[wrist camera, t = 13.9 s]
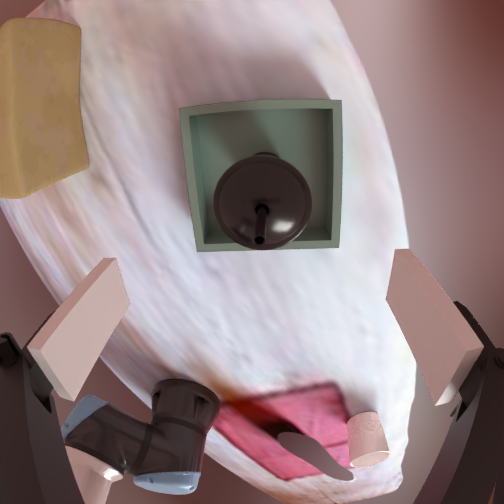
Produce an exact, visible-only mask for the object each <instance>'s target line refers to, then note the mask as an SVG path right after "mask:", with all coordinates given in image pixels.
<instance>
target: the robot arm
mask: <svg viewBox="0 0 504 504" xmlns="http://www.w3.org/2000/svg"><path fill="white" fill-rule="evenodd" d="M386 300H387V302H388V304H389V306H390V308H391V310H392V312H393V314H394V316H395V318H396V320H397V322H398V324H399V326H400V328H401V330H402V332H403V334H404V336H405V338H406V340H407V343H408V345H409V347H410V349H411V351H412V353H413V356H414V358H415V360H416V362H417V364H418V367H419V369H420V371H421V373H422V376H423V378H424V380H425V383H426V385H427V388H428V390H429V393H430V395H431V397H432V400H433V403H434V405H435V406H437V405H440V404H444V403H448V402H451V401H452V400H453V398H454V397H455V396H456V394H457V393H458V391H459V393H460V395H461V397H462V399H461V400H460V402H459V403H458V404H457V406H456V407H455V409H454V410H453V412H452V413H451V415H450V416H451V417H452V416H453V415H454V413H455V415H454V418H453V420H452V423H451V426H450V428H449V431H448V434H447V436H446V438H445V441H444V443H443V446H442V448H441V450H440V453H439V455H438V457H437V459H436V461H435V463H434V466H433V467H432V470H431V472H430V474H429V476H428V477H427V479H426V481H425V483H424V485H423V487H422V489H421V491H420V492H419V494H418V496H417V498H416V499H415V501H414V503H413V504H488V502H489V499H490V497H491V494H492V491H493V488H494V486H495V492H494V500H493V504H504V349H502V348H495V347H494V345H493V344H492V342H491V341H490V339H489V338H488V336H487V335H486V333H485V332H484V331H483V329H482V328H481V326H480V325H478V322H477V321H476V320H475V318H473V315H472V314H471V313H470V312H469V310H468V309H467V308H466V307H465V306H463V305H462V304H461V303H459V302H458V301H455V302H452V300H451V299H450V298H449V296H448V295H447V294H446V293H445V291H444V290H443V289H442V287H441V286H440V285H439V284H438V282H437V281H436V280H435V279H434V277H433V276H432V275H431V274H430V273H429V271H428V270H427V269H426V268H425V266H424V265H423V264H422V263H421V262H420V261H419V259H418V258H417V257H416V256H415V255H414V254H413V252H412V251H411V250H410V249H395V253H394V259H393V265H392V270H391V276H390V281H389V286H388V291H387V296H386ZM129 305H130V301H129V298H128V295H127V292H126V289H125V286H124V283H123V279H122V276H121V273H120V269H119V266H118V262H117V259H116V258H103V259H102V261H101V262H100V263H99V264H98V265H97V266H96V267H95V268H94V269H93V270H92V271H91V272H90V273H89V274H88V275H87V276H86V277H85V279H84V280H83V281H82V282H81V283H80V284H79V285H78V286H77V287H76V288H75V290H74V291H73V292H72V293H71V294H70V295H69V296H68V297H67V299H66V300H65V301H64V302H63V303H62V304H61V305H60V307H59V308H58V309H57V310H56V311H54V312H53V313H52V314H50V315H49V316H48V318H47V319H46V320H45V321H44V322H43V324H42V325H41V326H40V327H39V329H38V330H37V331H36V332H35V333H34V335H33V336H32V337H31V338H30V340H29V341H28V342H27V343H26V345H25V346H24V347H23V349H22V350H21V349H20V347H19V346H18V344H17V342H16V340H15V339H14V337H13V335H12V334H11V333H7V332H6V333H2V334H0V504H105V502H106V499H107V495H108V492H109V489H110V486H111V483H112V482H114V481H117V480H120V479H122V477H123V474H124V472H126V473H129V474H131V475H133V476H134V477H133V480H134V483H135V484H136V485H137V486H140V487H142V488H145V489H148V490H152V491H155V492H161V493H167V494H189V493H192V492H193V491H195V489H196V488H197V484H198V480H199V476H200V475H201V473H200V472H201V465H202V460H203V454H204V448H205V442H206V436H207V433H208V432H209V430H210V428H211V427H212V425H213V424H214V422H215V420H216V419H217V417H218V415H219V410H220V401H219V399H218V398H217V396H216V395H215V394H214V393H213V392H211V391H210V390H209V389H207V388H205V387H203V386H201V385H199V384H196V383H193V382H190V381H186V380H179V379H168V380H163V381H161V382H159V383H157V384H156V385H155V387H154V390H153V393H152V397H151V399H152V422H151V425H150V424H148V423H146V422H144V421H142V420H140V419H138V418H136V417H134V416H132V415H130V414H128V413H126V412H124V411H122V410H120V409H118V408H117V407H115V406H113V405H111V404H110V403H109V402H105V401H103V400H101V399H99V398H97V397H95V396H93V395H87V396H85V397H84V398H82V399H81V400H80V401H79V403H78V404H77V405H76V406H75V408H74V409H73V410H72V412H71V413H70V415H69V417H68V418H67V420H66V422H65V424H64V425H63V427H62V429H60V425H59V421H58V416H57V411H56V407H55V402H54V398H53V396H52V395H51V391H52V389H53V388H54V389H55V390H56V392H57V393H58V394H59V396H60V397H62V398H65V399H68V400H71V401H75V399H76V397H77V395H78V393H79V391H80V389H81V387H82V385H83V384H84V382H85V380H86V378H87V376H88V374H89V373H90V371H91V369H92V367H93V366H94V364H95V362H96V360H97V359H98V357H99V355H100V353H101V352H102V350H103V348H104V346H105V345H106V343H107V341H108V340H109V338H110V336H111V335H112V333H113V331H114V330H115V328H116V326H117V325H118V323H119V321H120V320H121V318H122V317H123V315H124V313H125V312H126V310H127V309H128V307H129ZM495 483H496V485H495Z"/></svg>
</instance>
